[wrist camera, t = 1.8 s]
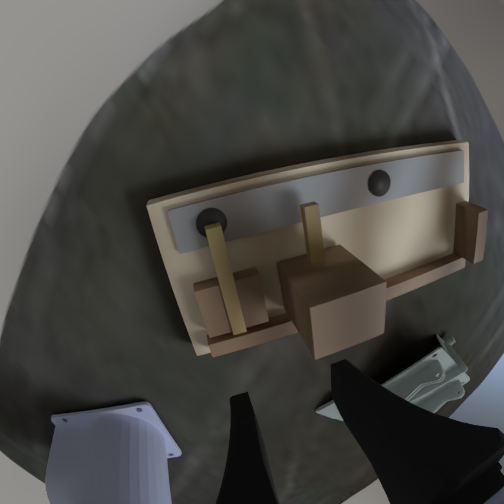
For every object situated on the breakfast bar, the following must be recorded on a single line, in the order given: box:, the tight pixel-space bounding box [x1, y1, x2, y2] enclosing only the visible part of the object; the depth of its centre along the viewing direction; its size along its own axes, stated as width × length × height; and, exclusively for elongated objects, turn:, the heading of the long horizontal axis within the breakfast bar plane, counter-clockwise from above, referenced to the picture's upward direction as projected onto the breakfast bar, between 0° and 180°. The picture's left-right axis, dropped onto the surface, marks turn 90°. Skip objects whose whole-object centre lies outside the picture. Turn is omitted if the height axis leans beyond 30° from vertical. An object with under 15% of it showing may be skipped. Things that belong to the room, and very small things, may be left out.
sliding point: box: [276, 202, 386, 360], centre depth 16 cm, size 4×6×5 cm, turn 11°
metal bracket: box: [316, 334, 470, 421], centre depth 28 cm, size 14×6×15 cm
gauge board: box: [146, 140, 488, 357], centre depth 19 cm, size 22×10×4 cm, turn 101°
